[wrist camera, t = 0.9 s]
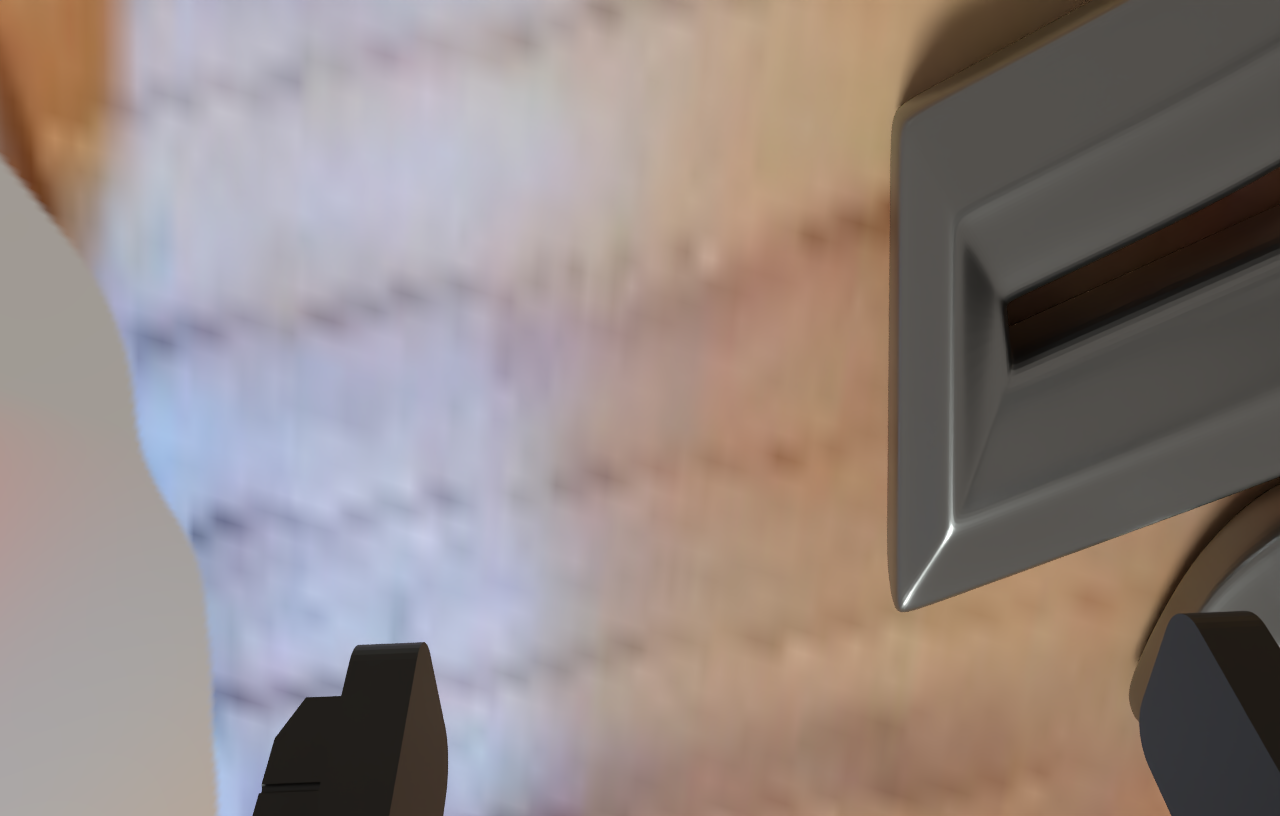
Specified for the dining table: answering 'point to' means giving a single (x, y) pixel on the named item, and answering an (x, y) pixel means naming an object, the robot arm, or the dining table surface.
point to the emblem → (1087, 306)
